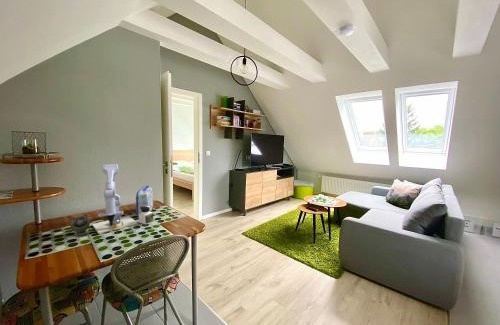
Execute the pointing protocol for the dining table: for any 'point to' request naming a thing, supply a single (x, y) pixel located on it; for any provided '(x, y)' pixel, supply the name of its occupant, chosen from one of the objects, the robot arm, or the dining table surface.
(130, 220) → the board
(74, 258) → the dining table surface
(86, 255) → the dining table surface
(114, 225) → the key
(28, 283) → the dining table surface
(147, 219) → the medicine bottle
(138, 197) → the lunch box
